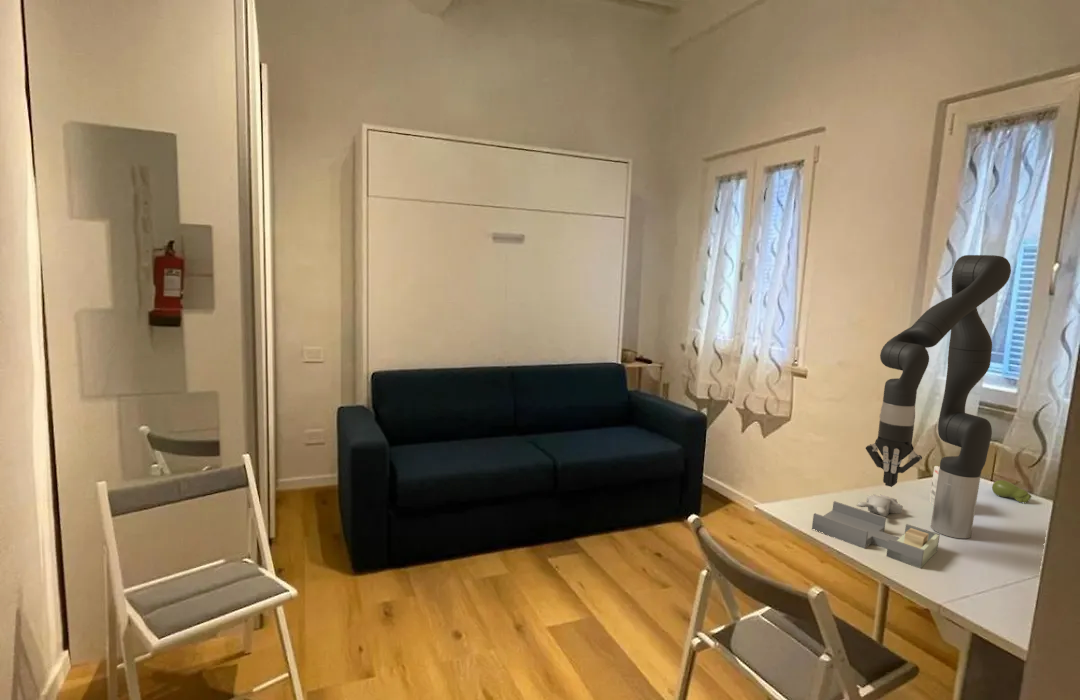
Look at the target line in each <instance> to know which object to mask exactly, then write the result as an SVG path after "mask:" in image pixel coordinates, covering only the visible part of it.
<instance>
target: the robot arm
mask: <svg viewBox="0 0 1080 700" xmlns="http://www.w3.org/2000/svg"><path fill="white" fill-rule="evenodd" d="M951 272H952V273H951V296H950V297H948V298H945V299H944V300H942V301H940V302H938V303H936V304H935V305H933V306H931V307H929V309H927V310H926V311H925V312H924V313H923V314H922V315H921V316H920V317H919V318H918V319H917V320H916V321H915V322H914V323H913V324H912V326H910V327H908V328H907V329H905V330H903V331H902V332H899V333H898V334H897V335H895V336H894V337H892V338H890V339H889V340H888V341H887V342H886V343H885V344H884V345H883V346H882V349H881V350H880V355H879V356H880V357H879V358H880V362H881V363H882V365H884V366H885V367H886V368H890V369H893V370H898V371H902V374H901V375H900V377H899V378H890V379H887V380H886V381H885V383H884V388H883V398H882V405H881V408H880V413H879V422H878V423H879V425H878V434H877V438H876V440H875V441H874V442H875V443H872V444H869V445H867V446H865V450H866V452H867V453H868V455H869V457H870V458H871V460H872V461H873V462H874V465H875V466H876V467H877V468H880V469H881V470H883V477H882V481H883V483H884V484H885V486H887V487H891V488H893V487H894V486H895V485H896V484H897V483H898V477H899V474H903V473H905V472H907V471H908V470H909V469H910V468H912V467H913V466H914V465H916V464H917V463H919V462H920V461H921V460H922V459H923V456H922V455H921V454H918V453H916V452H915V451H914V446H913V438H914V437H913V436H914V430H915V429H914V428H915V421H916V420H915V419H916V400H917V392H918V389H919V385H920V384H921V382H922V379H923V377H924V375H925V373H926V371H927V368H928V365H929V362H930V356H929V355H930V354H929V351H928V350H927V348H928V349H929V348H932V347H935V346H937V344H939V343H940V341H941V340H942V339H944V338H945V337H946V335H947V334H948V333H949V332H950V336H949V343H948V353H947V368H946V369H947V370H946V378H945V386H944V394H943V398H942V403H941V407H940V411H939V412H940V413H939V416H938V423H937V424H938V425H937V433H938V436H939V438H940V439H941V441H943V442H944V443H946V444H949V445H952V446H955V447H958V448H960V452H959V455H957V456H954V455H953V456H952V455H951V456H944V457H942V458H941V459H940V462H939V466H940V468H939V474H938V481H937V488H936V494H935V501H934V505H933V510H932V515H931V523H930V527H931V529H932V530H933V531H934V532H935V533H936V532H937V534H940V535H944V536H946V537H951V538H955V539H969V538H971V536H972V532H973V530H972V529H973V525H974V518H975V513H976V508H977V506H976V505H977V499H978V495H979V489H980V482H981V476H982V472H983V469H984V467H985V465H986V462H987V459H988V454H989V453H988V452H989V450H990V444H991V440H992V434H993V431H992V430H993V428H992V425H991V423H990V421H989V420H988V419H987V418H984V417H983V416H982V417H981V416H977V415H974V414H970V413H967V412H966V403H967V399H968V396H969V394H970V393H971V390H972V389H974V387H975V386H976V385H977V384H978V383H979V382H980V381H981V380H982V378H983V377H984V376H985V375H986V374H987V372H988V370H989V369H990V366H991V360H992V350H993V340H992V337H991V334H990V332H989V331H988V329H987V328H986V327H987V326H986V325H985V324H984V322H983V320H982V318H981V316H980V314H979V311H978V307H980V306H981V305H982V304H983V303H985V302H986V301H987V300H989V299H990V298H991V297H992V296H994V295H995V294H996V293H998V292H999V291H1001V290H1002V289H1003V288H1004V287H1005V285H1006V284H1007V282H1008V281H1009V280H1010V277H1011V274H1012V273H1011V272H1012V267H1011V263H1010V262H1009V260H1008V259H1007V258H1006V257H1004V256H1001V255H993V254H991V255H990V254H967V255H965V254H964V255H962V256H960V257H959V258H957V260H956V261H955V262H954V265H953V267H952V271H951ZM878 451H879V452H878ZM881 455H882V457H881ZM908 456H909V457H908ZM907 457H908V460H909V461H908V462H907V463H905V464H904V465H903V466H901V463H902V460H904V459H905V458H907Z"/></svg>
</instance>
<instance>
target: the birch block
mask: <svg viewBox="0 0 1080 700" xmlns="http://www.w3.org/2000/svg"><path fill="white" fill-rule="evenodd" d="M904 534H905V539H904V543H905V544H908V545H911V546H914V547H917V548H920V549H921V548H922V547H923V546H924V545H925V544H926V543H927V542H928V536H929V534H928V533H925V532H922V531H919V530H915V529H912V528H910V529H909V530H908V531H906V532H905V531H904Z"/></svg>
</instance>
